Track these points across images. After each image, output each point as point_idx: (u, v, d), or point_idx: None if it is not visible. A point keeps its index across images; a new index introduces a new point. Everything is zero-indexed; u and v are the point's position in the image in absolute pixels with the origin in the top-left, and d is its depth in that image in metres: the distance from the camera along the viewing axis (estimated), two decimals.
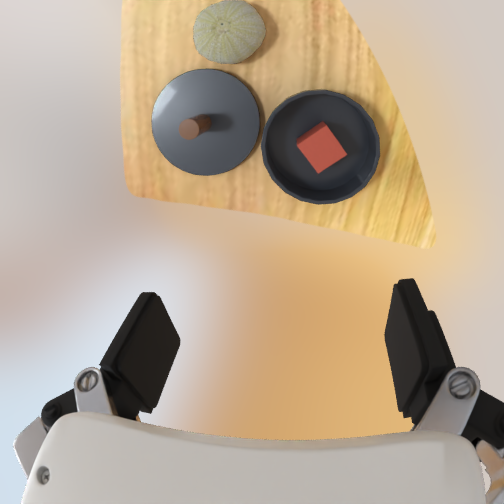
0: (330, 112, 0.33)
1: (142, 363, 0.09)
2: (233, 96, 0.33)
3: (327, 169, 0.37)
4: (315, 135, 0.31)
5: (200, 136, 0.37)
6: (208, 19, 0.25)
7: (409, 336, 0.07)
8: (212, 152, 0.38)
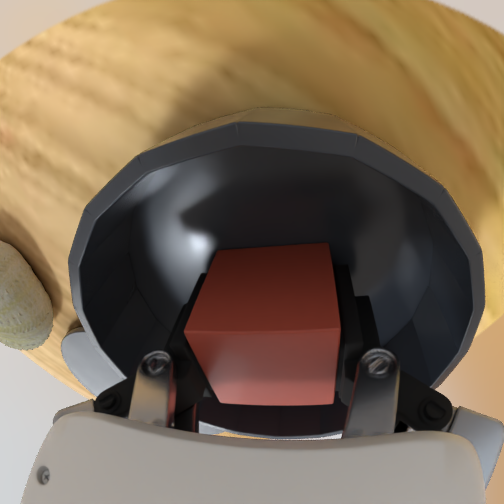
0: (199, 216, 0.11)
1: None
2: None
3: None
4: (208, 369, 0.09)
5: None
6: None
7: None
8: None
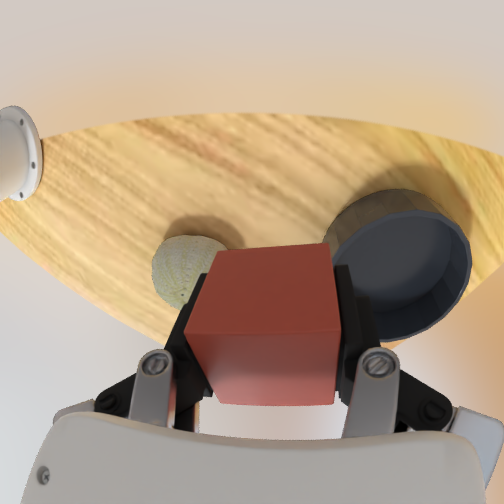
0: (368, 229, 0.24)
1: None
2: None
3: (422, 268, 0.25)
4: (208, 369, 0.09)
5: None
6: (169, 299, 0.27)
7: None
8: None
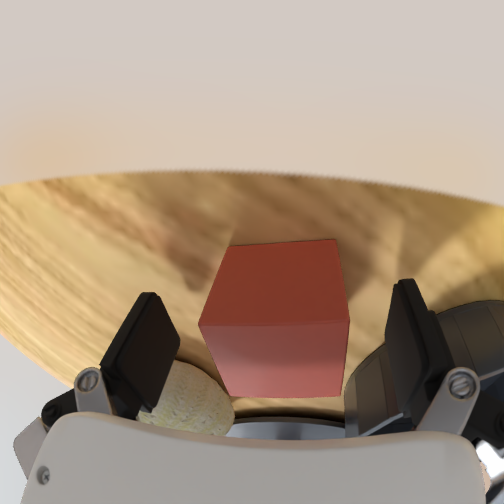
0: None
1: (142, 363, 0.09)
2: (282, 431, 0.19)
3: None
4: (220, 361, 0.09)
5: None
6: None
7: (409, 336, 0.07)
8: None
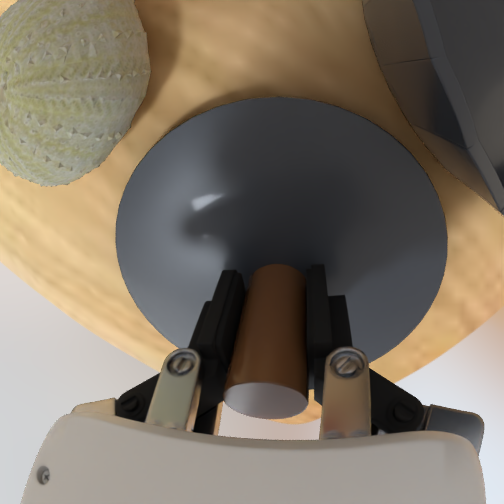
0: None
1: (233, 341, 0.10)
2: (257, 158, 0.09)
3: None
4: None
5: None
6: None
7: None
8: (368, 311, 0.12)
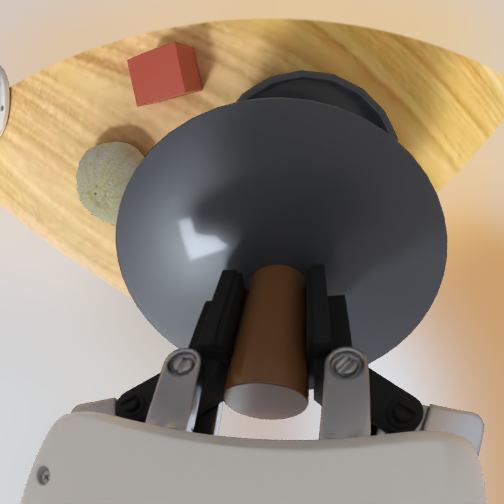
0: None
1: (233, 341, 0.10)
2: (257, 159, 0.09)
3: None
4: (133, 78, 0.18)
5: None
6: (87, 202, 0.25)
7: None
8: (368, 311, 0.12)
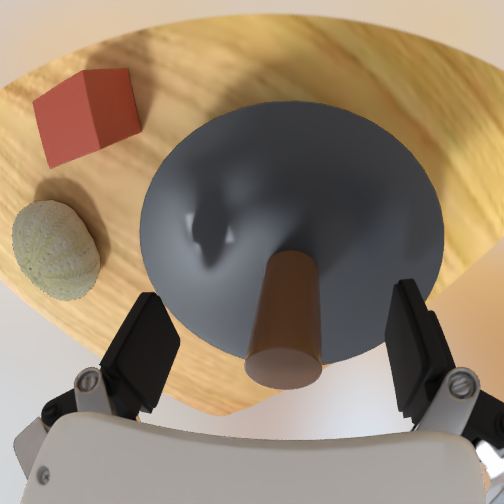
0: None
1: (142, 363, 0.09)
2: (275, 154, 0.11)
3: None
4: (40, 129, 0.12)
5: None
6: (26, 275, 0.18)
7: (409, 336, 0.07)
8: (372, 296, 0.14)
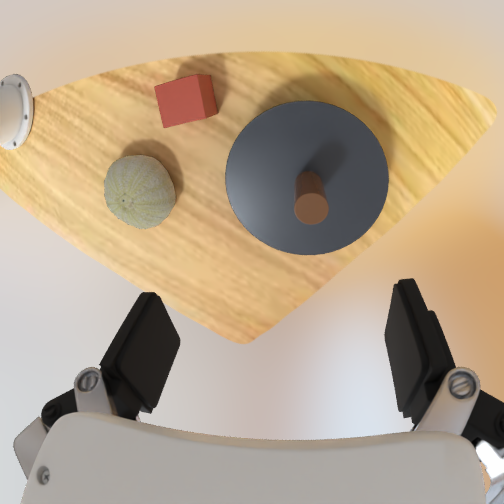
0: None
1: (142, 363, 0.09)
2: (301, 124, 0.23)
3: None
4: (160, 103, 0.23)
5: None
6: (114, 208, 0.30)
7: (409, 336, 0.07)
8: (352, 199, 0.26)
